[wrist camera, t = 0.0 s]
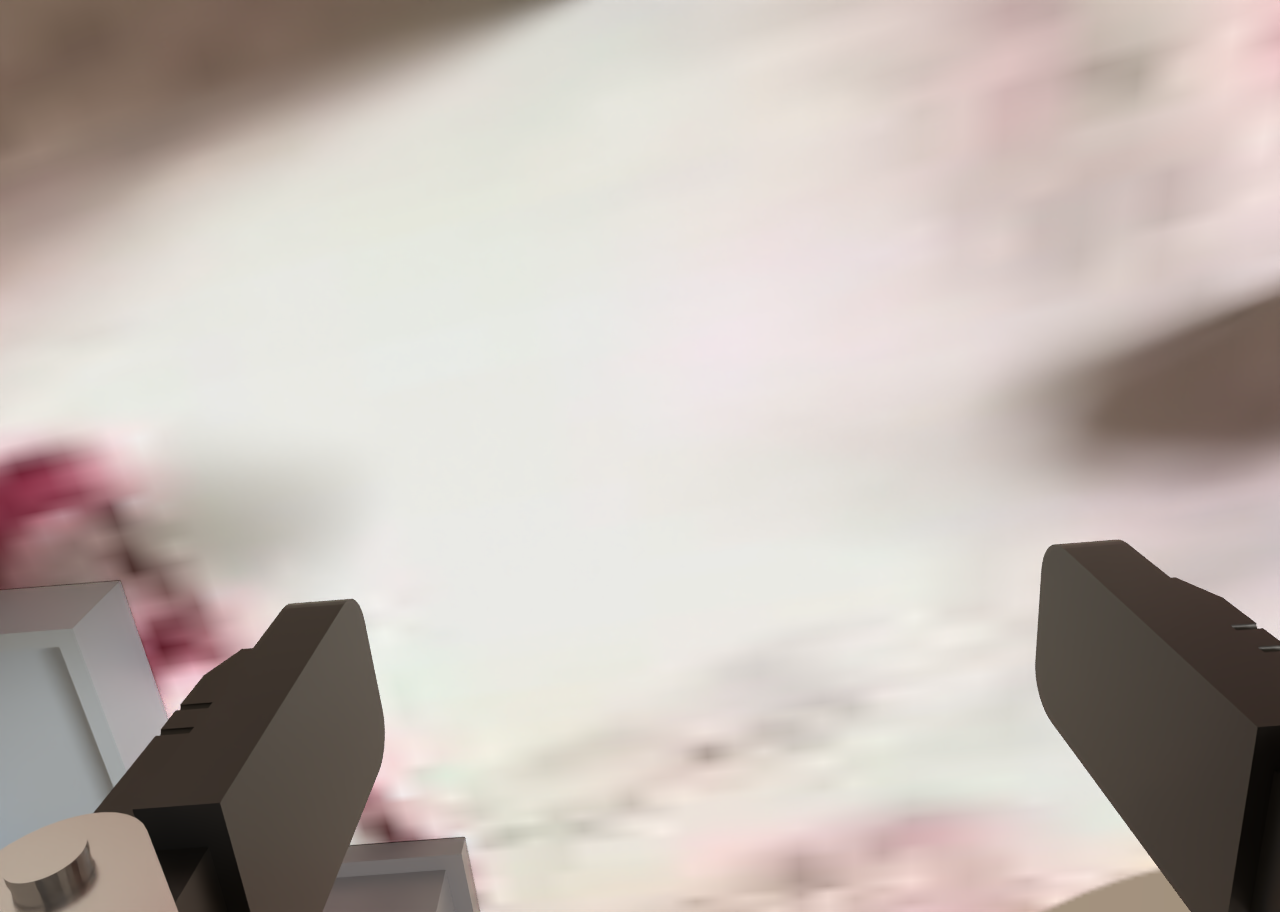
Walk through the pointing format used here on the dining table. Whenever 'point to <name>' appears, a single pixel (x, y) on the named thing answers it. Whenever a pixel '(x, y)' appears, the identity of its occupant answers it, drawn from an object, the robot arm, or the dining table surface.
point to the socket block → (405, 878)
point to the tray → (69, 702)
